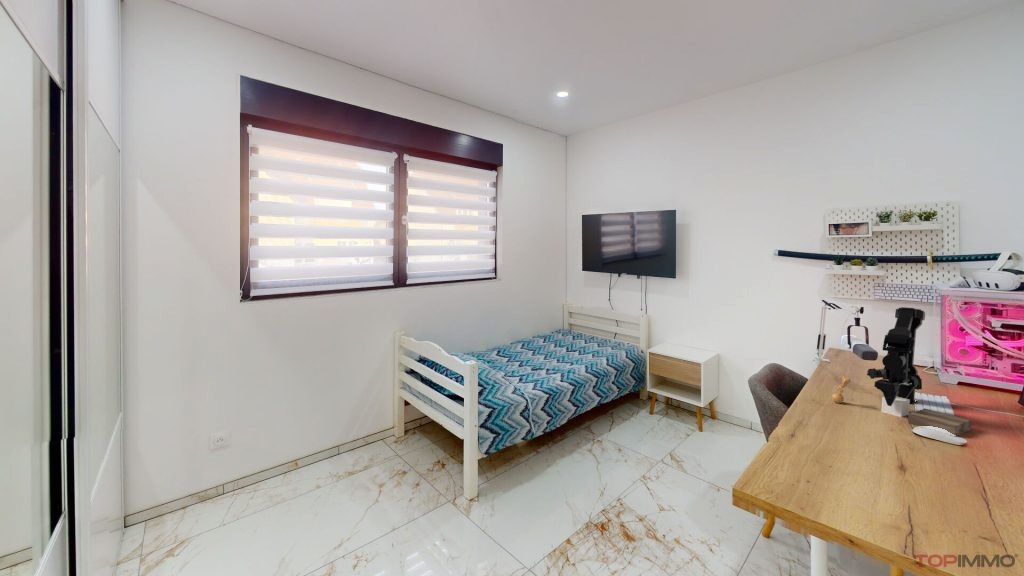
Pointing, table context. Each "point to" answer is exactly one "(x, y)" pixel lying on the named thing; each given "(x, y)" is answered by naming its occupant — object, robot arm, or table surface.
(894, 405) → the off-white cube
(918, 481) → the table surface
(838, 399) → the figurine
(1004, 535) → the table surface
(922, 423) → the walnut slab
